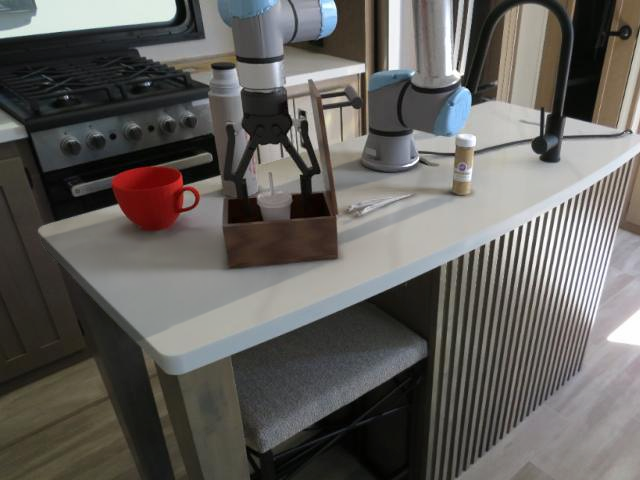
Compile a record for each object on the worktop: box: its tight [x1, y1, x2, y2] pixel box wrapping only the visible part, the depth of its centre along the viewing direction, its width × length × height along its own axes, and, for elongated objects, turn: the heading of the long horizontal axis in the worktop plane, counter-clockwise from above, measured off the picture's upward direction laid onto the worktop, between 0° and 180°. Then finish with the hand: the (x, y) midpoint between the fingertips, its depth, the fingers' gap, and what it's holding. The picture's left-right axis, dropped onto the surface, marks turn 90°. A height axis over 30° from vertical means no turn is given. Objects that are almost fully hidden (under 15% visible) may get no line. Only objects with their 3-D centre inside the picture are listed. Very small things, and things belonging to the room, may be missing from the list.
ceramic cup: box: [110, 166, 201, 232], centre depth 113 cm, size 13×17×10 cm
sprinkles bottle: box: [451, 133, 477, 196], centre depth 131 cm, size 5×5×13 cm
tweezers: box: [346, 193, 412, 218], centre depth 127 cm, size 18×5×2 cm, turn 132°
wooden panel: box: [307, 78, 364, 216], centre depth 101 cm, size 21×13×8 cm
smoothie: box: [256, 171, 292, 221], centre depth 104 cm, size 6×6×14 cm
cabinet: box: [221, 190, 339, 269], centre depth 106 cm, size 20×13×8 cm, turn 104°
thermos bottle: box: [207, 61, 259, 197], centre depth 124 cm, size 8×8×28 cm
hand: (277, 212), depth 105 cm, fingers open, 10 cm apart
